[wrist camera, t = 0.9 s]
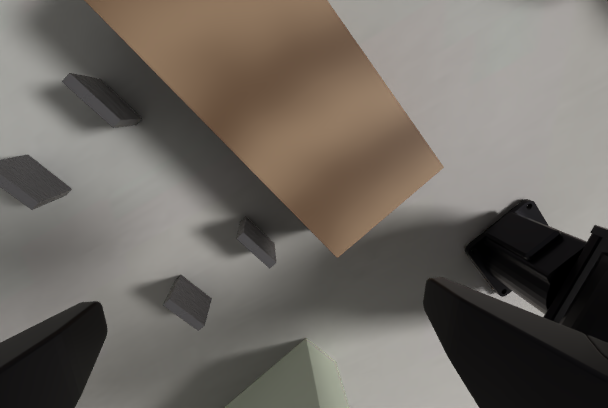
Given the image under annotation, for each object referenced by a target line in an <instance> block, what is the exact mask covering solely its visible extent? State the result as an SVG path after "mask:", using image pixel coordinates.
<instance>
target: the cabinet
mask: <svg viewBox="0 0 608 408" xmlns="http://www.w3.org/2000/svg"><path fill="white" fill-rule="evenodd" d="M85 1H86V2H87V3H88V4H89V5H90V6H91V7H92V8H93V10H94V11H95V12H96V13H97V14H98V15H99V16H100V17H101V18H102V19H103V20H104V21H105V22H106V23H107V24H108V25H109V26H110V27H111V28H112V29H113V30H114V31H115V32H116V33H117V34H118V35H119V36H120V37H121V38H122V39H123V40H124V41H125V42H126V43H127V44H128V45H129V46H130V47H131V48H132V49H133V50H134V51H135V52H136V53H137V54H138V55H139V56H140V57H141V58H142V59H143V60H144V62H145V63H146V64H147V65H148V66H149V67H150V68H151V69H152V70H153V71H154V72H155V73H156V74H157V75H158V76H159V77H160V78H161V79H162V80H163V81H164V82H165V83H166V84H167V85H168V86H169V87H170V88H171V89H172V90H173V91H174V92H175V93H176V94H177V95H178V96H179V97H180V98H181V99H182V100H183V101H184V102H185V103H186V104H187V105H188V106H189V107H190V108H191V109H192V110H193V111H194V113H195V114H196V115H197V116H198V117H199V118H200V119H201V120H202V121H203V122H204V123H205V124H206V125H207V126H208V127H209V128H210V129H211V130H212V131H213V132H214V133H215V134H216V135H217V136H218V137H219V138H220V139H221V140H222V141H223V142H224V143H225V144H226V145H227V146H228V147H229V148H230V149H231V150H232V151H233V152H234V153H235V154H236V155H237V156H238V157H239V158H240V159H241V160H242V161H243V162H244V163H245V165H246V166H247V167H248V168H249V169H250V170H251V171H252V172H253V173H254V174H255V175H256V176H257V177H258V178H259V179H260V180H261V181H262V182H263V183H264V184H265V185H266V186H267V187H268V188H269V189H270V190H271V191H272V192H273V193H274V194H275V195H276V196H277V197H278V198H279V199H280V200H281V201H282V202H283V203H284V204H285V205H286V206H287V207H288V208H289V209H290V210H291V211H292V212H293V213H294V214H295V215H296V217H297V218H298V219H299V220H300V221H301V222H302V223H303V224H304V225H305V226H306V227H307V228H308V229H309V230H310V231H311V232H312V233H313V234H314V235H315V236H316V237H317V238H318V239H319V240H320V241H321V242H322V243H323V244H324V245H325V246H326V247H327V248H328V249H329V250H330V251H331V252H332V253H333V254H334V255H335V256H336V257H337V258H338V257H339V256H340V255H342V254H343V253H344V252H345V251H346V250H347V249H349V248H350V247H351V246H352V245H353V244H355V243H356V242H357V241H358V240H359V239H360V238H362V237H363V236H364V235H365V234H366V233H367V232H369V231H370V230H371V229H372V228H373V227H374V226H376V225H377V224H378V223H379V222H380V221H382V220H383V219H384V218H385V217H386V216H387V215H389V214H390V213H391V212H392V211H393V210H394V209H396V208H397V207H398V206H399V205H400V204H401V203H403V202H404V201H405V200H406V199H407V198H409V197H410V196H411V195H412V194H413V193H414V192H416V191H417V190H418V189H419V188H420V187H421V186H423V185H424V184H425V183H426V182H427V181H428V180H430V179H431V178H432V177H433V176H434V175H436V174H437V173H438V172H439V171H440V170H441V169H443V168H444V167H443V165H442V164H441V163H440V161H439V160H438V158H437V157H436V155H435V154H434V153H433V151H432V150H431V148H430V147H429V145H428V144H427V142H426V141H425V140H424V138H423V137H422V135H421V134H420V132H419V131H418V130H417V128H416V127H415V125H414V124H413V122H412V121H411V120H410V118H409V117H408V115H407V114H406V112H405V111H404V110H403V108H402V107H401V105H400V104H399V102H398V101H397V100H396V98H395V97H394V95H393V94H392V92H391V91H390V90H389V88H388V87H387V85H386V84H385V82H384V81H383V80H382V78H381V77H380V75H379V74H378V72H377V71H376V70H375V68H374V67H373V65H372V64H371V62H370V61H369V59H368V58H367V57H366V55H365V54H364V52H363V51H362V49H361V48H360V47H359V45H358V44H357V42H356V41H355V39H354V38H353V37H352V35H351V34H350V32H349V31H348V29H347V28H346V27H345V25H344V24H343V22H342V21H341V19H340V18H339V17H338V15H337V14H336V12H335V11H334V9H333V8H332V7H331V5H330V4H329V2H328V1H327V0H85ZM62 82H63V83H64V84H65V85H66V86H67V87H68V88H69V89H70V90H72V91H73V92H74V93H75V94H76V95H77V96H78V97H79V98H81V99H82V100H83V101H84V102H85V103H86V104H87V105H88V106H89V107H91V108H92V109H93V110H94V111H95V112H96V113H97V114H98V115H99V116H101V117H102V118H103V119H104V120H105V121H106V122H107V123H108V124H109V125H111V126H112V127H113V128H116V127H125V126H133V125H136V124H137V123H138V122H139V121H140V120H141V119H142V118H141V117H140V116H139V115H138V114H137V113H136V112H135V111H134V110H133V109H132V108H131V107H130V106H129V105H127V104H126V103H125V102H124V101H123V100H122V99H121V98H120V97H119V96H118V95H117V94H116V93H115V92H114V91H113V90H112V89H111V88H109V87H108V86H107V85H106V84H105V83H104V82H103V81H102V80H101V79H97V78H92V77H87V76H82V75H77V74H72V73H69V74H68V75H67V76H66V77H65V78H64V80H63V81H62ZM0 187H1V188H2V189H4V190H5V191H6V192H8V193H9V194H11V195H12V196H13V197H15V198H16V199H18V200H19V201H20V202H22V203H23V204H24V205H26V206H27V207H29V208H30V209H31V210H33V209H35V208H38V207H40V206H42V205H45V204H47V203H49V202H52V201H54V200H56V199H58V198H61V197H63V196H65V195H67V194H68V193H69V192H70V191H71V190H72V189H71V188H70V187H69V186H67V185H66V184H65V183H63V182H62V181H61V180H60V179H58V178H57V177H56V176H55V175H53V174H52V173H51V172H49V171H48V170H47V169H46V168H44V167H43V166H42V165H40V164H39V163H38V162H37V161H35V160H34V159H33V158H32V157H30V156H29V155H24V156H19V157H13V158H8V159H3V160H0ZM236 239H237V240H238V241H240V242H241V243H242V244H243V245H244V246H245V247H246V248H247V249H248V250H250V251H251V252H252V253H253V254H254V255H255V256H256V257H257V258H258V259H260V260H261V261H262V262H263V263H264V264H265V265H266V266H267V267H268V268H271V267H272V266H273V265H274V264H275V263H276V254H275V244H274V242H273V241H271V240H270V239H269V238H268V237H267V236H266V235H265V234H264V233H263V232H262V231H261V230H260V229H259V228H258V227H257V226H256V225H255V224H253V223H252V222H251V221H250V220H249V219H248V218H247V217H246V216H245V217H244V218H243V219H242V220H241V221H240V223H239V228H238V233H237V238H236ZM210 303H211V298H210V297H209V296H208V295H206V294H205V293H204V292H202V291H201V290H200V289H199V288H197V287H196V286H195V285H193V284H192V283H191V282H190V281H188V280H187V279H186V278H185V277H183V276H182V275H181V276H179V277H178V278H177V279H176V280H175V282H174V284H173V286H172V288H171V290H170V292H169V294H168V296H167V298H166V300H165V302H164V304H163V306H165V307H166V308H168V309H169V310H170V311H172V312H173V313H174V314H176V315H177V316H179V317H180V318H181V319H183V320H184V321H186V322H187V323H188V324H190V325H191V326H192V327H194V328H195V329H197V330H198V331H199V330H200V329H201V328H202V327H203V326H205V322H206V318H207V315H208V311H209V307H210Z"/></svg>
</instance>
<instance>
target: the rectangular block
mask: <svg viewBox="0 0 608 408" xmlns="http://www.w3.org/2000/svg"><path fill="white" fill-rule="evenodd" d="M224 408H349V405H348V401H347V398H346V394H345V391H344V388H343V384H342V381H341V378H340V374H339V371H338V368H337V364H336V362H335V361H334V360H333V359H332V358H330V357H329V356H328V355H327V354H325V353H324V352H323V351H322V350H320V349H319V348H318V347H317V346H315V345H314V344H313V343H312V342H311V341H309V340H308V339H307V338H305V339H304V340H303V341H302V342H301V343H300V344H298V345H297V346H296V347H295V348H294V349H293V350H291V351H290V352H289V353H288V354H287V355H285V356H284V357H283V358H282V359H281V360H280V361H278V362H277V363H276V364H275V365H274V366H273V367H271V368H270V369H269V370H268V371H267V372H266V373H264V374H263V375H262V376H261V377H260V378H258V379H257V380H256V381H255V382H254V383H253V384H251V385H250V386H249V387H248V388H247V389H246V390H244V391H243V392H242V393H241V394H240V395H238V396H237V397H236V398H235V399H234V400H233V401H231V402H230V403H229V404H228V405H227V406H226V407H224Z"/></svg>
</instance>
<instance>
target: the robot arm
mask: <svg viewBox="0 0 608 408" xmlns="http://www.w3.org/2000/svg"><path fill="white" fill-rule="evenodd" d="M527 205H528V206H527ZM590 233H592V234H591V236H590V238H589V239H588V241H587V242H586V241H584V240H582V239H579V238H577V237H574V236H572V235H569V234H567V233H564V232H562V231H559V230H557V229H554V228H552V227H549V226H548V224H547V222H546V221H545V219H544V217H543V216H542V214H541V212H540V211H539V209H538V207H537V206H536V204H535V202H534V201H531V200H528V199H525V200H523V201H522V202H521V203H519V204H518V205H517V206H516V207H514V208H513V209H512V210H511V211H509V212H508V213H507V214H506V215H505V216H503V217H502V218H501V219H500V220H498V221H497V222H496V223H495V224H493V225H492V226H491V227H490V228H488V229H487V230H486V231H485V232H484V233H482V234H481V235H480V236H479V237H477V238H476V239H475V240H474V241H472V242H471V243H470V244H469V245H468V246H467V247H466V249H465V252H466V254H467V255H468V256H469V258H470V259H471V260H472V262H473V263H474V264H475V265H476V267H477V268H478V269H479V271H480V272H481V273H482V275H483V276H484V277H485V279H486V280H487V281H488V283H489V284H490V285H491V287H492V288H493V289H494V290H495V292H496V293H497V294H499V295H500V296H506V295H507V294H509V293H510V292H511V291H513V292H515V293H516V294H517V295H519V296H520V297H522V298H523V299H524V300H526V301H527V302H529V303H530V304H531V305H533V306H534V307H536V308H537V309H538V310H540V311H541V312H542V313H544V314H545V315H544V317H541V316H538V315H536V314H533V313H531V312H528V311H526V310H523V309H521V308H518V307H516V306H513V305H511V304H508V303H506V302H503V301H501V300H498V299H496V298H493V297H491V296H488V295H486V294H483V293H481V292H478V291H476V290H473V289H471V288H468V287H465V286H463V285H460V284H458V283H455V282H453V281H450V280H448V279H445V278H443V277H435V278H429V279H428V280H427V281H426V286H425V293H424V300H423V305H424V309H425V312H426V314H427V316H428V318H429V320H430V322H431V324H432V326H433V328H434V330H435V332H436V334H437V336H438V338H439V340H440V342H441V344H442V346H443V348H444V350H445V352H446V354H447V356H448V358H449V359H450V361H451V363H452V364H453V366H454V368H455V369H456V371H457V373H458V374H459V376H460V377H461V379H462V381H463V382H464V384H465V385H466V387H467V389H468V390H469V392H470V394H471V395H472V397H473V398H474V400H475V402H476V403H477V405H478V406H479V408H608V229H607V228H603V227H600V226H597V225H594V227H593V229H592V231H591V232H590ZM472 249H473V251H472V252H471V250H472ZM106 336H107V324H106V320H105V316H104V311H103V307H102V305H101V303H100V302H98V301H93V302H82V303H79V304H77V305H75V306H73V307H71V308H69V309H67V310H65V311H63V312H61V313H59V314H57V315H55V316H53V317H51V318H49V319H47V320H45V321H43V322H41V323H39V324H37V325H35V326H33V327H31V328H29V329H27V330H25V331H23V332H21V333H19V334H17V335H15V336H13V337H11V338H9V339H7V340H5V341H3V342H1V343H0V408H75V406H76V404H77V402H78V400H79V398H80V396H81V394H82V392H83V390H84V388H85V386H86V383H87V381H88V379H89V376H90V374H91V371H92V369H93V367H94V364H95V362H96V360H97V357H98V355H99V353H100V350H101V348H102V346H103V343H104V341H105V339H106Z"/></svg>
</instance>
